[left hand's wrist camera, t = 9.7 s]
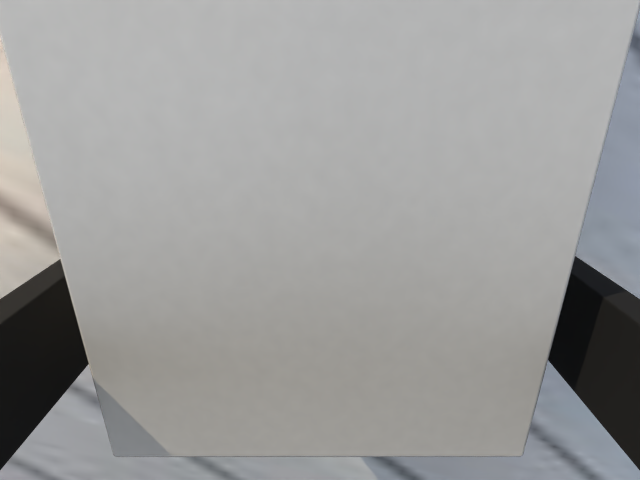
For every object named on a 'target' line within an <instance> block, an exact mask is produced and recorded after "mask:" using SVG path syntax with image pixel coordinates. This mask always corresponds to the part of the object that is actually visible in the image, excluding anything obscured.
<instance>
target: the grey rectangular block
mask: <svg viewBox="0 0 640 480" xmlns="http://www.w3.org/2000/svg"><path fill="white" fill-rule="evenodd" d="M639 9H640V0H0V37H1V41H2V45H3V48H4V52H5V56H6V59H7V63H8V67H9V71H10V74H11V78H12V82H13V85H14V89H15V93H16V96H17V100H18V104H19V107H20V111H21V115H22V119H23V122H24V126H25V130H26V133H27V137H28V141H29V144H30V148H31V152H32V156H33V159H34V163H35V167H36V170H37V174H38V178H39V181H40V185H41V189H42V193H43V196H44V200H45V204H46V207H47V211H48V215H49V218H50V222H51V226H52V229H53V233H54V237H55V241H56V244H57V248H58V252H59V255H60V259H61V263H62V266H63V270H64V274H65V278H66V281H67V285H68V289H69V292H70V296H71V300H72V303H73V307H74V311H75V314H76V318H77V322H78V326H79V329H80V333H81V337H82V340H83V344H84V348H85V351H86V355H87V359H88V363H89V366H90V370H91V374H92V377H93V381H94V385H95V388H96V392H97V396H98V399H99V403H100V407H101V411H102V414H103V418H104V422H105V425H106V429H107V433H108V436H109V440H110V444H111V448H112V451H113V455H114V456H116V457H520V456H522V455H523V453H524V449H525V446H526V442H527V438H528V434H529V430H530V426H531V423H532V419H533V415H534V411H535V407H536V404H537V400H538V396H539V392H540V388H541V384H542V381H543V377H544V373H545V369H546V365H547V361H548V358H549V354H550V350H551V346H552V342H553V338H554V335H555V331H556V327H557V323H558V319H559V315H560V312H561V308H562V304H563V300H564V296H565V293H566V289H567V285H568V281H569V277H570V273H571V270H572V266H573V262H574V258H575V254H576V250H577V247H578V243H579V239H580V235H581V231H582V227H583V224H584V220H585V216H586V212H587V208H588V205H589V201H590V197H591V193H592V189H593V185H594V182H595V178H596V174H597V170H598V166H599V162H600V159H601V155H602V151H603V147H604V143H605V139H606V136H607V132H608V128H609V124H610V120H611V116H612V113H613V109H614V105H615V101H616V97H617V94H618V90H619V86H620V82H621V78H622V74H623V71H624V67H625V63H626V59H627V55H628V51H629V48H630V44H631V40H632V36H633V32H634V28H635V25H636V21H637V17H638V13H639Z"/></svg>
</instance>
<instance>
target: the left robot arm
mask: <svg viewBox="0 0 640 480" xmlns="http://www.w3.org/2000/svg"><path fill="white" fill-rule="evenodd" d="M548 360H549V362H550V363H551V364H552V365H553V366H554V368H555V369H556V370H557V371H558V372H559V374H560V375H561V376H562V377H563V378H564V380H565V381H566V382H567V383H568V384H569V386H570V387H571V388H572V389H573V390H574V392H575V393H576V394H577V395H578V396H579V398H580V399H581V400H582V401H583V402H584V404H585V405H586V406H587V407H588V408H589V410H590V411H591V412H592V413H593V415H594V416H595V417H596V418H597V419H598V421H599V422H600V423H601V424H602V425H603V427H604V428H605V429H606V430H607V431H608V433H609V434H610V435H611V436H612V437H613V439H614V440H615V441H616V442H617V443H618V445H619V446H620V447H621V448H622V449H623V451H624V452H625V453H626V454H627V455H628V457H629V458H630V459H631V460H632V461H633V463H634V464H635V465H636V466H637V467H638V469H639V470H640V299H639V298H637V297H636V296H634V295H633V294H631V293H630V292H628V291H627V290H625V289H624V288H622V287H621V286H619V285H618V284H616V283H615V282H613V281H612V280H610V279H609V278H607V277H606V276H604V275H603V274H601V273H600V272H598V271H597V270H595V269H594V268H592V267H591V266H589V265H588V264H586V263H585V262H583V261H582V260H580V259H579V258H577V257H576V256H575V258H574V262H573V266H572V270H571V273H570V277H569V281H568V285H567V289H566V293H565V296H564V300H563V304H562V308H561V312H560V315H559V319H558V323H557V327H556V331H555V335H554V338H553V342H552V346H551V350H550V354H549V358H548ZM88 364H89V363H88V359H87V355H86V351H85V348H84V344H83V340H82V337H81V333H80V329H79V326H78V322H77V318H76V314H75V311H74V307H73V303H72V300H71V296H70V292H69V289H68V285H67V281H66V278H65V274H64V270H63V266H62V263H61V259H60V260H58V261H57V262H55V263H54V264H52V265H51V266H49V267H48V268H46V269H45V270H43V271H42V272H40V273H39V274H37V275H36V276H34V277H33V278H31V279H30V280H28V281H27V282H25V283H24V284H22V285H21V286H19V287H18V288H16V289H15V290H13V291H12V292H10V293H9V294H7V295H6V296H4V297H3V298H1V299H0V470H1V469H2V467H3V466H4V465H5V464H6V463H7V461H8V460H9V459H10V458H11V457H12V455H13V454H14V453H15V452H16V451H17V449H18V448H19V447H20V446H21V445H22V443H23V442H24V441H25V440H26V439H27V437H28V436H29V435H30V434H31V433H32V431H33V430H34V429H35V428H36V427H37V425H38V424H39V423H40V422H41V421H42V419H43V418H44V417H45V416H46V414H47V413H48V412H49V411H50V410H51V408H52V407H53V406H54V405H55V404H56V402H57V401H58V400H59V399H60V398H61V396H62V395H63V394H64V393H65V392H66V390H67V389H68V388H69V387H70V386H71V384H72V383H73V382H74V381H75V380H76V378H77V377H78V376H79V375H80V374H81V372H82V371H83V370H84V369H85V368H86V366H87V365H88Z"/></svg>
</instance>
